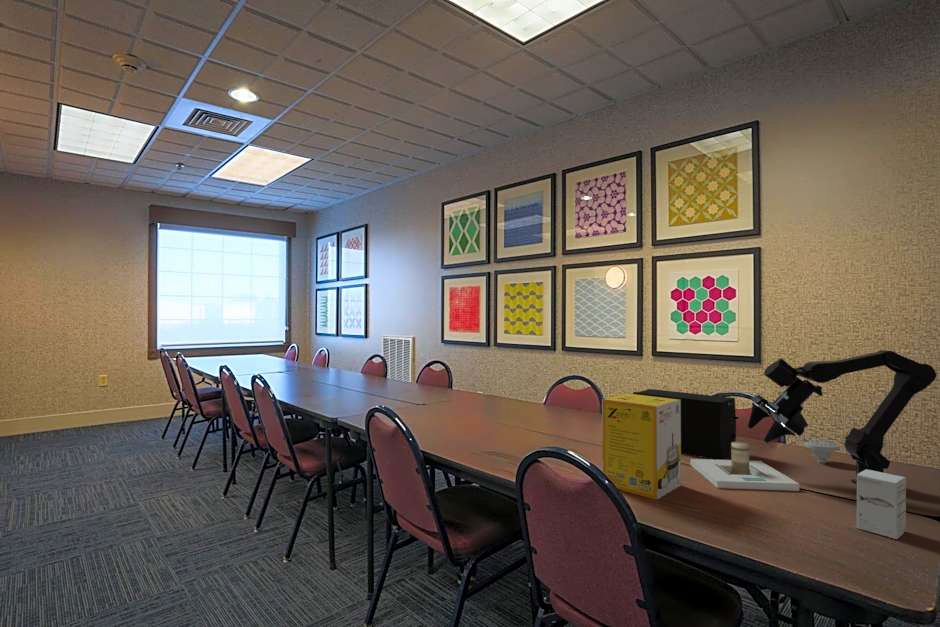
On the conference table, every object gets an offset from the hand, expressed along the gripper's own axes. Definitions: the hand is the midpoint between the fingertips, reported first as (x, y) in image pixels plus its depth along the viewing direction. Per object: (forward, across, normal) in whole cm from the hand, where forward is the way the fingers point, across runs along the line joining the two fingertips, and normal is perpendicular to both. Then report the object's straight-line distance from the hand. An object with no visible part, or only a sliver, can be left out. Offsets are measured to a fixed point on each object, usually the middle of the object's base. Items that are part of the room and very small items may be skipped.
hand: (757, 434), depth 147 cm
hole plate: (+13, -4, -3) cm, 14 cm away
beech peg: (+13, -3, -3) cm, 14 cm away
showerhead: (-4, +13, -34) cm, 36 cm away
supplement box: (-1, -39, -8) cm, 40 cm away
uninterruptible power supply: (+22, +28, -4) cm, 36 cm away
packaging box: (+31, -12, +24) cm, 41 cm away
